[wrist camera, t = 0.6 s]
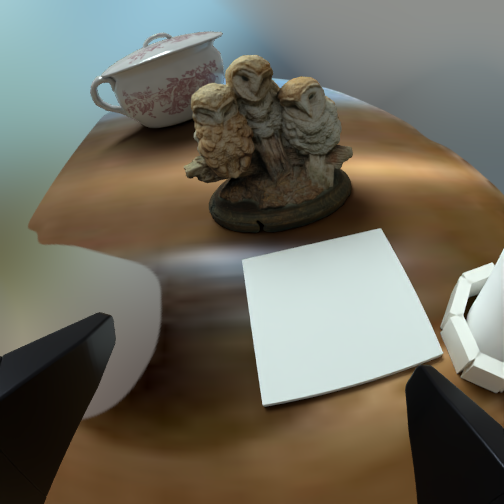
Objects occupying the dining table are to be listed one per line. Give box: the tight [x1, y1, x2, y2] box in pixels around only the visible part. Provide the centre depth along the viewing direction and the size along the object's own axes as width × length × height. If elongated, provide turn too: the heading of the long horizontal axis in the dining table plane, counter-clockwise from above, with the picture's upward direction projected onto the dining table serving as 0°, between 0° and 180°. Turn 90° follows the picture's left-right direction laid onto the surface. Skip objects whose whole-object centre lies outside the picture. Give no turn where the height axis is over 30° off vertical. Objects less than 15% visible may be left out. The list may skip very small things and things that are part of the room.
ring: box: [440, 263, 504, 393], centre depth 18 cm, size 10×10×2 cm
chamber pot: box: [90, 32, 224, 128], centre depth 57 cm, size 28×28×21 cm
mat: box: [242, 228, 443, 407], centre depth 24 cm, size 14×14×1 cm
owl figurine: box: [184, 55, 353, 233], centre depth 30 cm, size 18×12×17 cm, turn 100°
